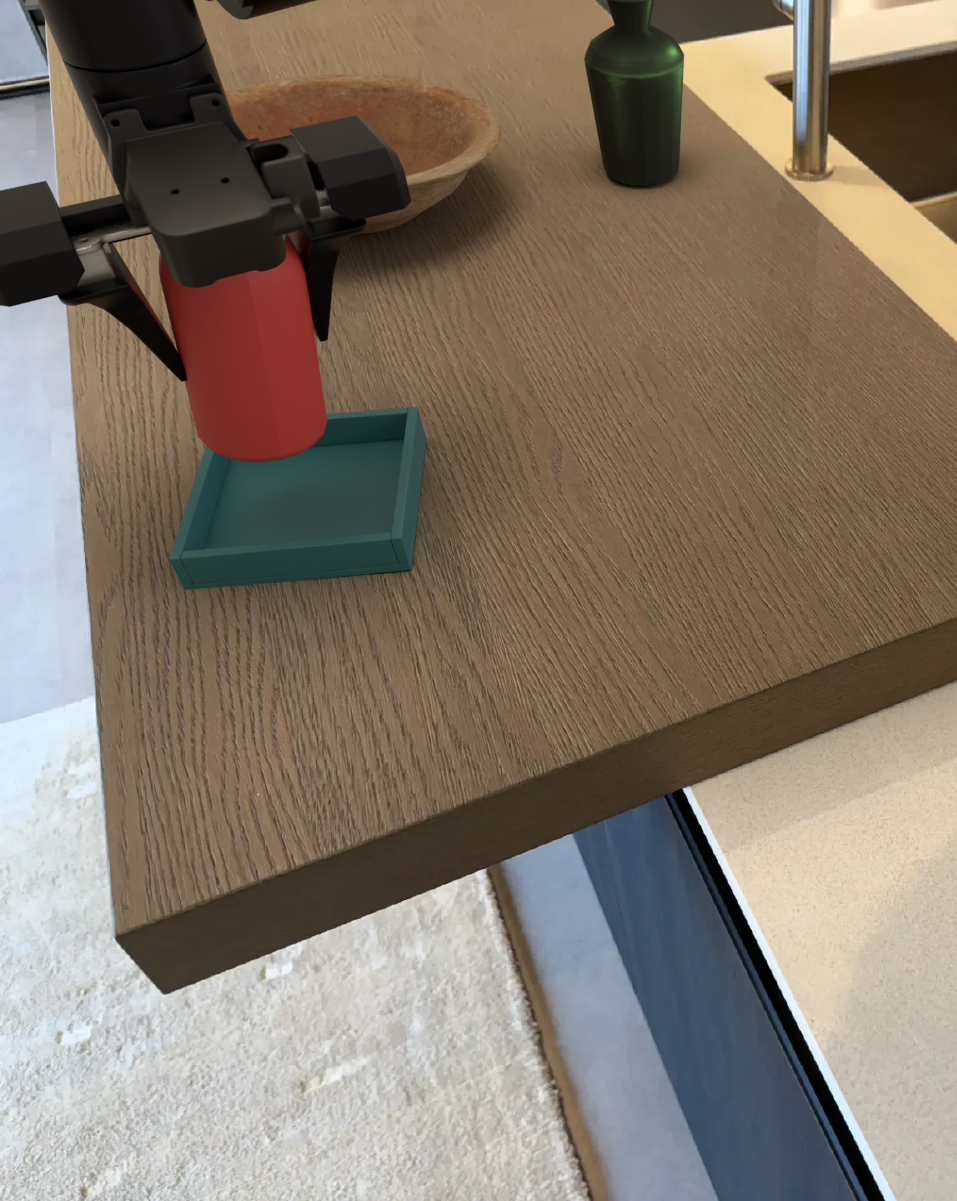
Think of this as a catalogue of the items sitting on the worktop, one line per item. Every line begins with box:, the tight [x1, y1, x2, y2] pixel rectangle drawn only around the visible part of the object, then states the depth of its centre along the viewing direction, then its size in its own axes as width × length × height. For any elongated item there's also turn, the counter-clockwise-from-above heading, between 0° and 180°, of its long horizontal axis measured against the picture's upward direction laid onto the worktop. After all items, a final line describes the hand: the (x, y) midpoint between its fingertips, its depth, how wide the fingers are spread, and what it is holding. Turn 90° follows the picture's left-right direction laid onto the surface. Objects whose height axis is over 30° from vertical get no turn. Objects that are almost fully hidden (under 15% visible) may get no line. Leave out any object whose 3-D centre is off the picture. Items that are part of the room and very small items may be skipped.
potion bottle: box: [583, 0, 685, 186], centre depth 92 cm, size 8×8×18 cm
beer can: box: [158, 234, 327, 462], centre depth 59 cm, size 7×7×12 cm
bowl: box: [224, 74, 502, 235], centre depth 90 cm, size 24×24×8 cm
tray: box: [168, 406, 427, 591], centre depth 67 cm, size 12×12×2 cm
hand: (254, 357), depth 60 cm, fingers closed on beer can, 7 cm apart
